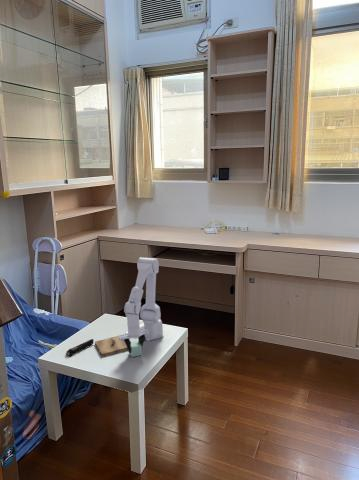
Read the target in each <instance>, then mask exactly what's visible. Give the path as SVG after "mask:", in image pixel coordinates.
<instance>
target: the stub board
mask: <svg viewBox="0 0 359 480" xmlns="http://www.w3.org/2000/svg"><path fill="white" fill-rule="evenodd" d="M122 335H123V334H120V335H116V336H113V337H107V338H104V339H101V340H96V341H94V345H95V347H96V349H97V351H98V352H99V354H100V355H101V358H103V357H106V356H111V355H114V354H118V353H121V352H125V351H128V348H127V345H126V343H125V342H124V340H123V341H122V342H120V340H119V336H122Z"/></svg>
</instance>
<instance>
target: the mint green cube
mask: <svg viewBox="0 0 359 480" xmlns="http://www.w3.org/2000/svg"><path fill="white" fill-rule="evenodd" d="M130 342H131V353H129V356H131V358H135V357H138V356H141V355H143V351H142V350H143V346H142V347H141V344H140V343H139V340H136V341H130Z"/></svg>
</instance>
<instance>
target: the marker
mask: <svg viewBox="0 0 359 480" xmlns="http://www.w3.org/2000/svg"><path fill="white" fill-rule="evenodd" d="M139 325H140V330H144V323H142V324H139ZM127 333H128V331H126V332H124V335H125V334H127Z"/></svg>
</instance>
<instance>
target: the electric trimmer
mask: <svg viewBox="0 0 359 480" xmlns="http://www.w3.org/2000/svg"><path fill="white" fill-rule="evenodd" d="M93 344H94V338H92V339H91V338H90V339H89V340H87V341H85V342H83V343H81V344H78V345H75V346H73V347H72V348H69V349H68V350H66V352H65V355H66V356H67V357H69V358H70V357H72V356H73V355H74V354H76V353H78V352H79V351H81V350H85V349H87V348H89V347H90V346H91V345H93Z"/></svg>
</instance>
